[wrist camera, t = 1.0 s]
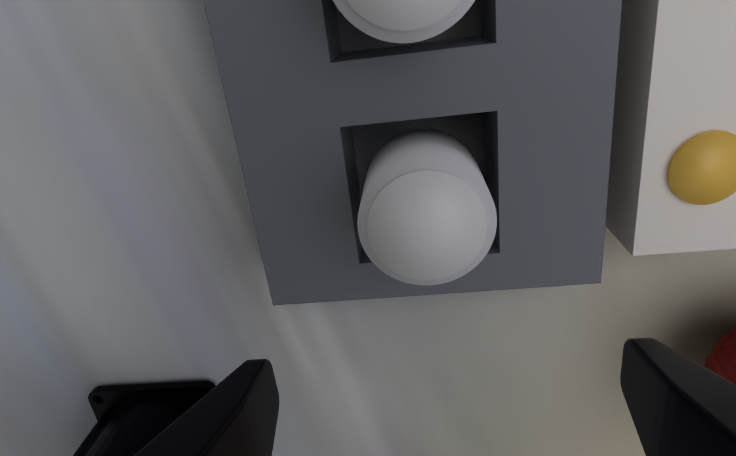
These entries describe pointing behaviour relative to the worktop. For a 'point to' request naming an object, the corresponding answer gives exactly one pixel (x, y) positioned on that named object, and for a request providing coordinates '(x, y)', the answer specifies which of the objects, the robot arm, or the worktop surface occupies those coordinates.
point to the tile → (674, 128)
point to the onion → (724, 357)
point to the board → (417, 101)
